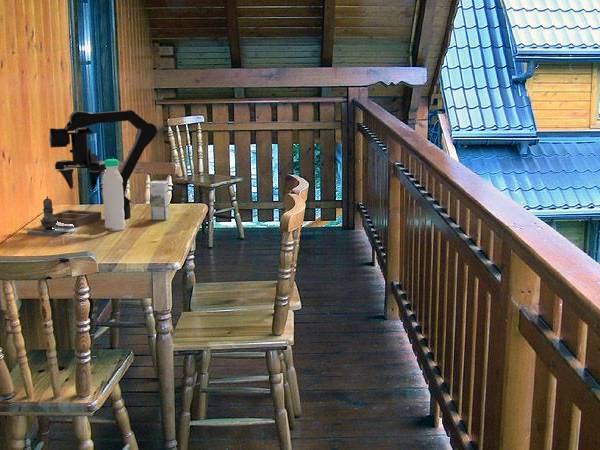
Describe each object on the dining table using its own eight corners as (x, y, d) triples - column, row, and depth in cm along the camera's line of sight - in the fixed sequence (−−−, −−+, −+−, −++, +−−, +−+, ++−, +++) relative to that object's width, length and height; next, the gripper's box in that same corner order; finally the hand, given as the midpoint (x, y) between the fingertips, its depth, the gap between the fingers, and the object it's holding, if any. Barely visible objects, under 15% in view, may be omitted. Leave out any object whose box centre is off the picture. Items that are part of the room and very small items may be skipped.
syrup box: (169, 217, 316) (168, 180, 313) (165, 220, 310) (164, 182, 308) (155, 217, 317) (153, 179, 314) (150, 220, 311) (149, 182, 308)
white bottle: (120, 231, 291) (116, 160, 286) (101, 231, 293) (97, 160, 288) (128, 227, 298) (124, 158, 293) (110, 227, 299) (106, 158, 294)
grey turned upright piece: (55, 231, 287) (53, 197, 285) (38, 231, 287) (36, 197, 285) (60, 228, 293) (58, 194, 291) (43, 228, 293) (41, 194, 291)
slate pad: (71, 231, 292) (70, 228, 292) (56, 236, 285) (56, 233, 284) (42, 229, 296) (42, 226, 296) (27, 234, 288) (27, 231, 288)
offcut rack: (101, 222, 308) (101, 211, 308) (76, 230, 294) (75, 219, 293) (69, 220, 313) (68, 209, 312) (43, 228, 298) (42, 217, 297)
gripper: (114, 144, 304) (116, 187, 307) (71, 143, 310) (73, 185, 313) (97, 148, 294) (99, 191, 297) (52, 146, 300) (55, 189, 303)
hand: (82, 189), depth 303 cm, fingers open, 9 cm apart
